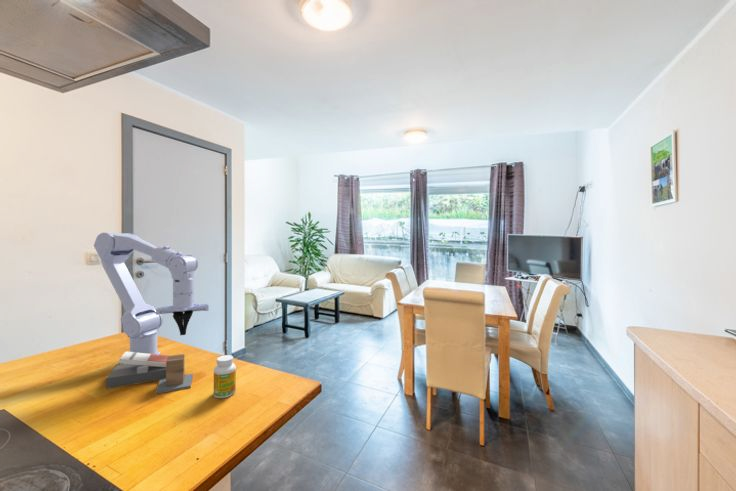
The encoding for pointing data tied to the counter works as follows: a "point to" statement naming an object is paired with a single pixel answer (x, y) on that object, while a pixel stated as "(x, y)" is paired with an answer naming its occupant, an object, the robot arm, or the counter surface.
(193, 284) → the robot arm
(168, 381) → the brown rectangular block
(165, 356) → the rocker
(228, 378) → the supplement bottle
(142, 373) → the switch housing
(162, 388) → the mat
